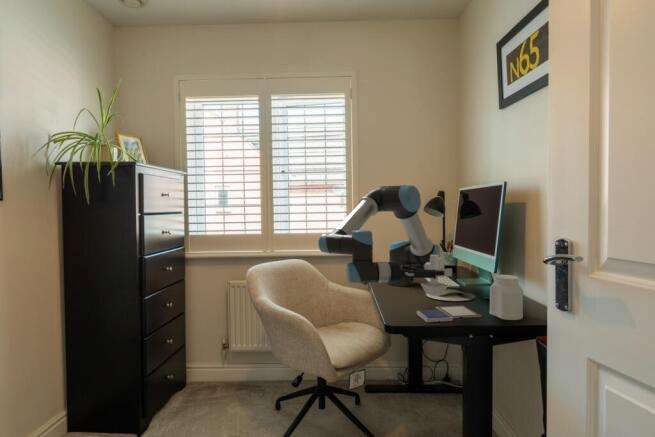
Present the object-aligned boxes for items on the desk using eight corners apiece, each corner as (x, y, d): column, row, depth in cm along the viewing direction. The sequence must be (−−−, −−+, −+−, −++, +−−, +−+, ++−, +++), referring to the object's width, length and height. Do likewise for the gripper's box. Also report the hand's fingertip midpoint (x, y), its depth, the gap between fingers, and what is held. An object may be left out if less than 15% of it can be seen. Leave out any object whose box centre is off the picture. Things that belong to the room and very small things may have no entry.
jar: (484, 312, 142) (485, 274, 141) (504, 309, 144) (504, 273, 144) (507, 321, 131) (507, 280, 130) (528, 318, 133) (528, 278, 133)
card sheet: (436, 307, 149) (436, 306, 149) (463, 306, 150) (463, 305, 150) (451, 318, 135) (451, 316, 135) (481, 316, 136) (481, 315, 136)
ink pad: (416, 313, 141) (416, 310, 140) (441, 312, 142) (441, 308, 142) (426, 322, 131) (426, 318, 131) (452, 320, 132) (452, 316, 132)
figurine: (433, 290, 141) (433, 252, 141) (450, 295, 133) (450, 255, 132) (418, 291, 139) (418, 253, 138) (434, 297, 130) (434, 256, 129)
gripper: (380, 275, 144) (433, 274, 147) (397, 288, 122) (459, 286, 125) (380, 257, 144) (433, 256, 147) (397, 266, 122) (459, 264, 125)
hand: (445, 269), depth 136 cm, fingers closed on figurine, 9 cm apart
